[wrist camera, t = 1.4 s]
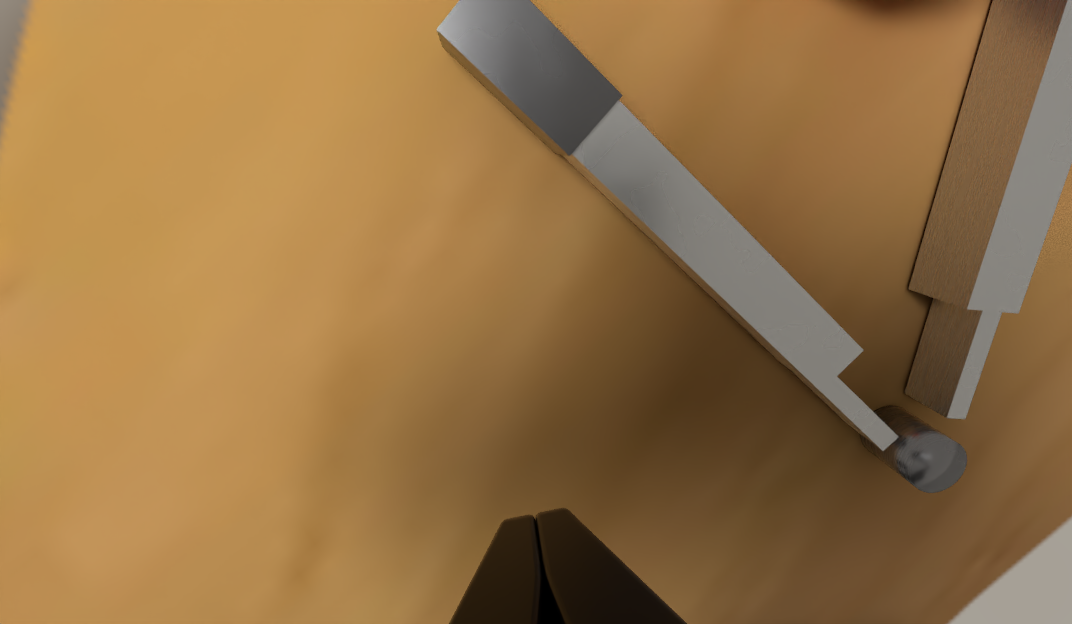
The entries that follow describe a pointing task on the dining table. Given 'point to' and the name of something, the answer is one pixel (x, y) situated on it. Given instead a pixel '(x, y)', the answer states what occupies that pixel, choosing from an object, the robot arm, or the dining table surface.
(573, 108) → the tong leg
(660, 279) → the dining table surface
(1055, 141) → the tong base
